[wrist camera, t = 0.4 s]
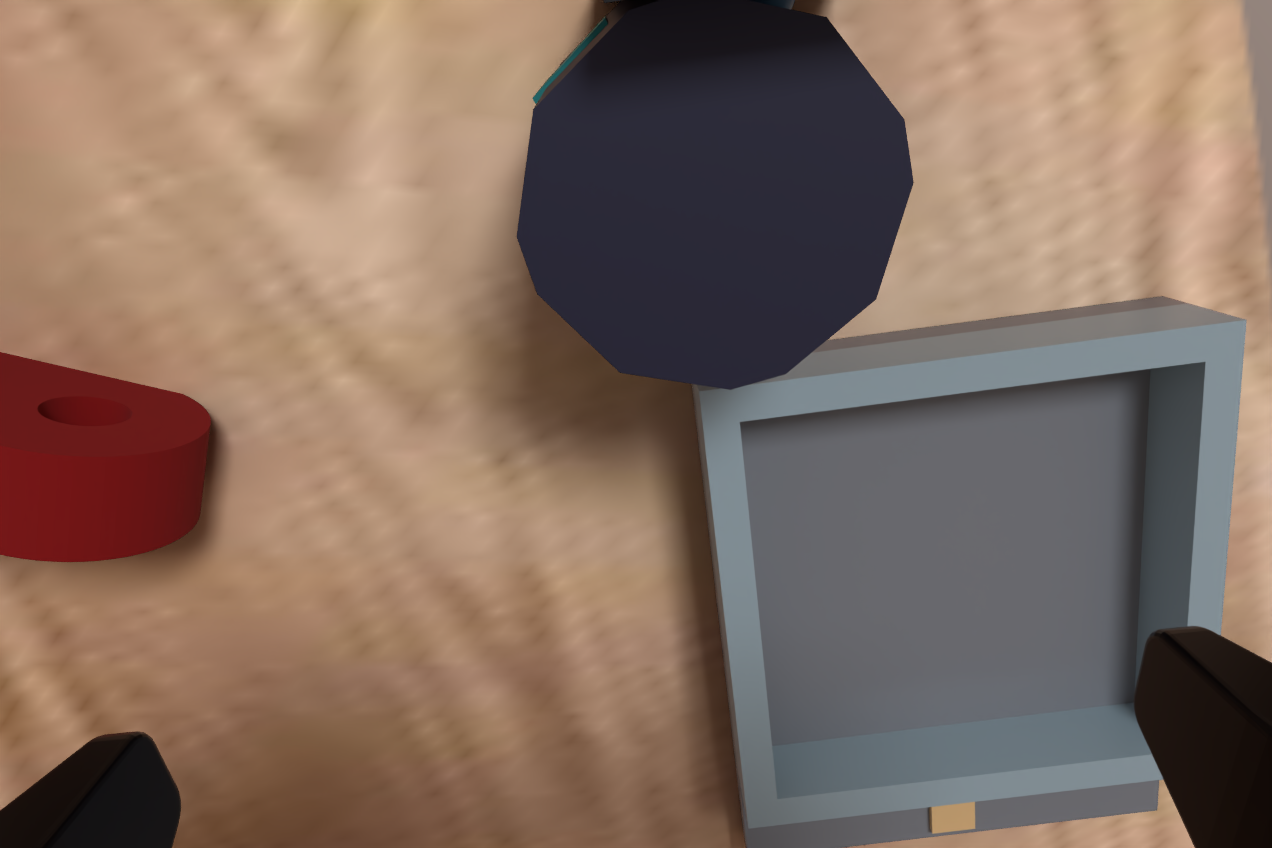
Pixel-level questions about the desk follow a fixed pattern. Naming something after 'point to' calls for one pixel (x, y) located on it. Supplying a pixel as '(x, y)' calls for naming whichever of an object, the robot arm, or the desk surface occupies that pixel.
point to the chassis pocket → (965, 565)
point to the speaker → (711, 188)
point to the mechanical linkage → (95, 464)
